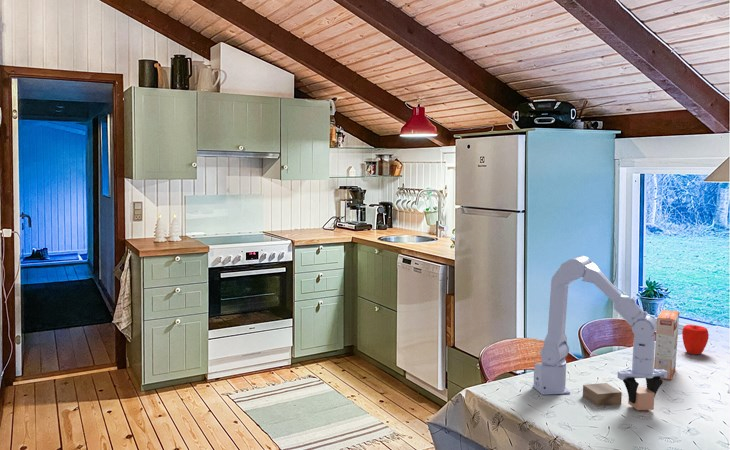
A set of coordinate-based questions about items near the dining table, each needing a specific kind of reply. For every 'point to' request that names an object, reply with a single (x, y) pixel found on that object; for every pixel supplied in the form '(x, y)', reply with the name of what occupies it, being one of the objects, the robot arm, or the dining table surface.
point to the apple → (695, 338)
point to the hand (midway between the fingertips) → (641, 401)
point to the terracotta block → (643, 399)
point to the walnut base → (602, 394)
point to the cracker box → (666, 342)
